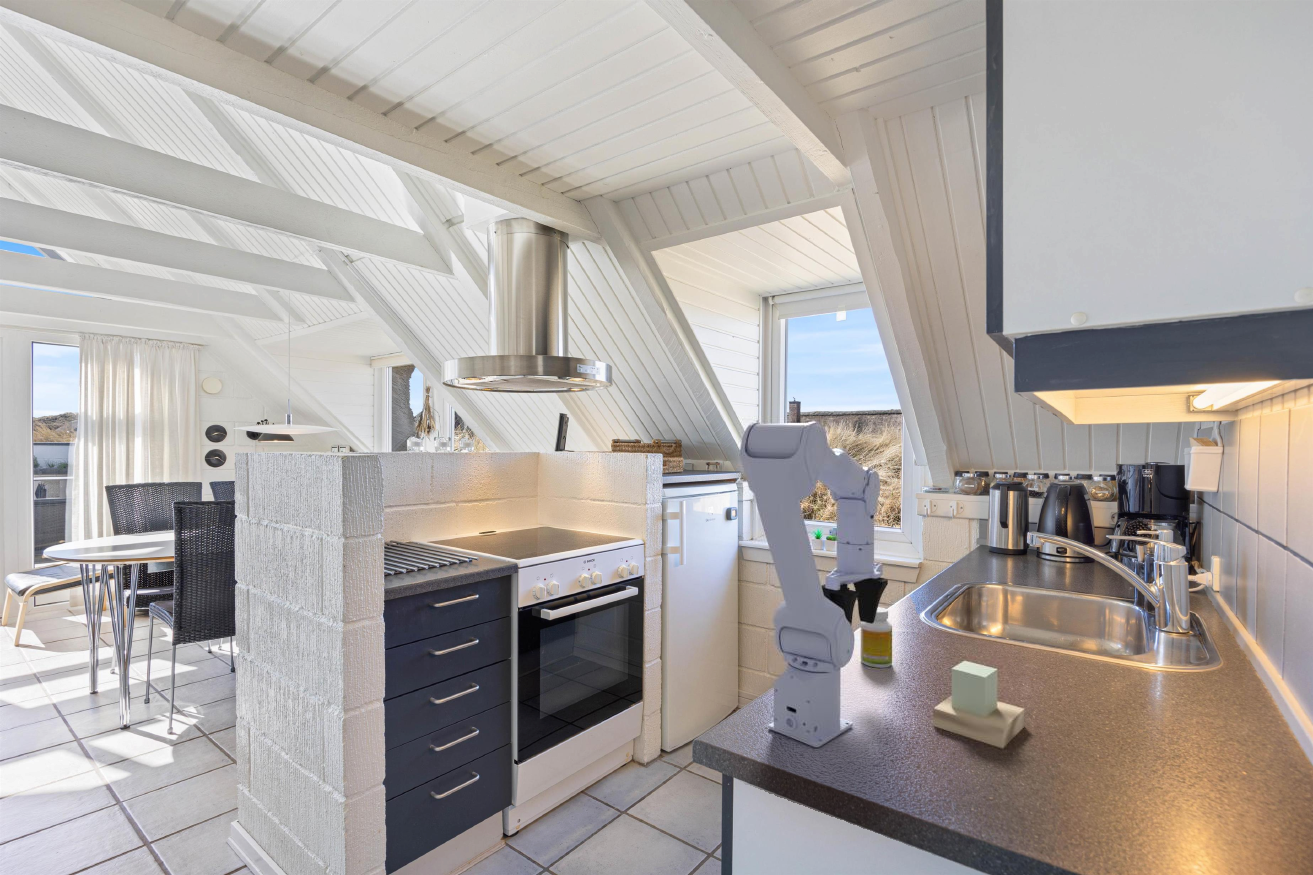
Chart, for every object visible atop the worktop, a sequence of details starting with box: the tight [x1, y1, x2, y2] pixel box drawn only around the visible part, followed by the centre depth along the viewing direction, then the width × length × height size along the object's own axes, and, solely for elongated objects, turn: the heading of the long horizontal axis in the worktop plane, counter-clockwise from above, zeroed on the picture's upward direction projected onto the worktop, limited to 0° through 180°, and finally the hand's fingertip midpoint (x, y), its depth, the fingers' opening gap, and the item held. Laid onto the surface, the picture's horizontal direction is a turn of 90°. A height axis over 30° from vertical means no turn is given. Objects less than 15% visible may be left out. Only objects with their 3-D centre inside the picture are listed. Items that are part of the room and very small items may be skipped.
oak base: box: [933, 694, 1025, 749], centre depth 90 cm, size 9×9×3 cm
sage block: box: [951, 660, 998, 717], centre depth 90 cm, size 4×4×6 cm
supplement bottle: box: [860, 606, 893, 669], centre depth 115 cm, size 5×5×10 cm
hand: (855, 626), depth 102 cm, fingers open, 7 cm apart
